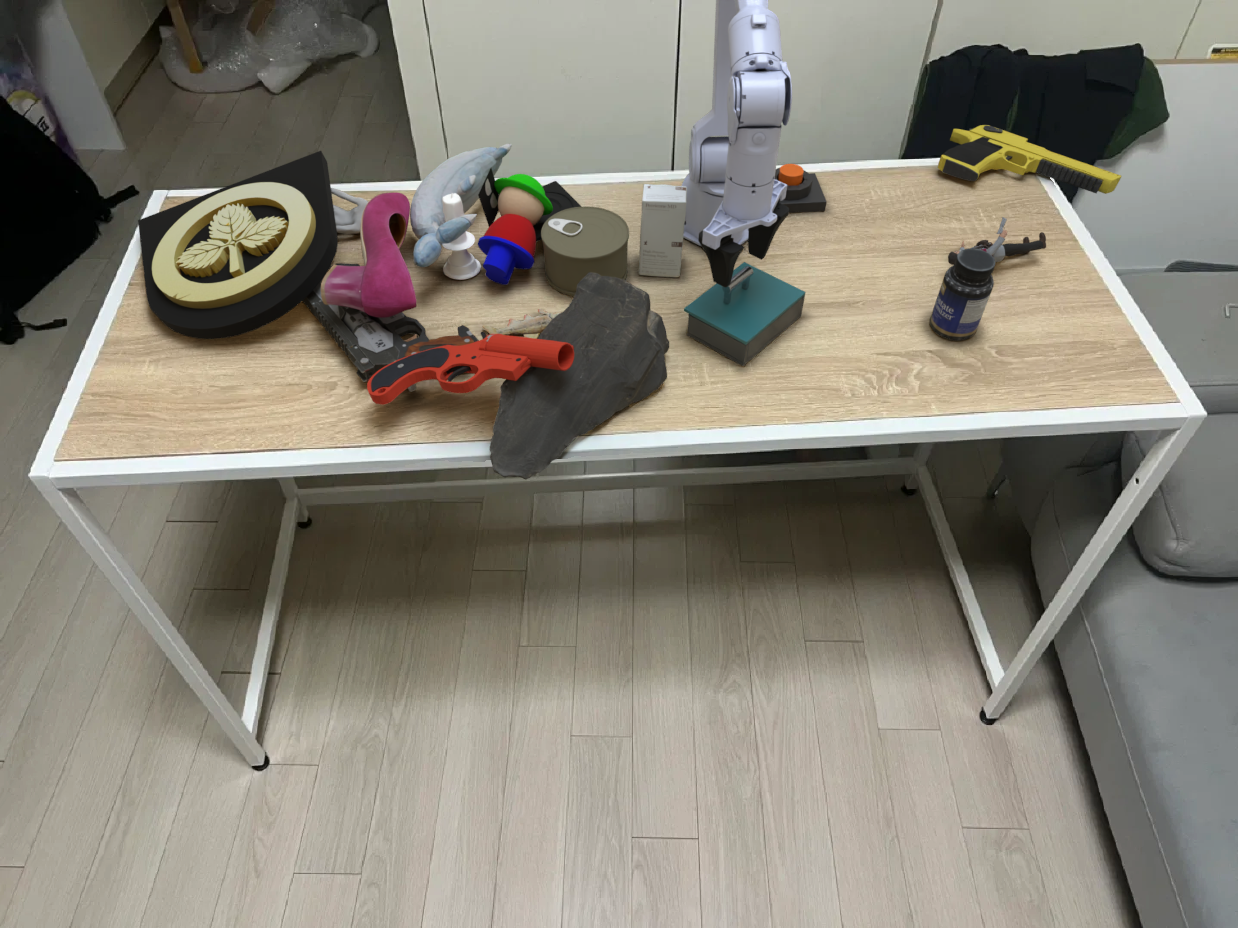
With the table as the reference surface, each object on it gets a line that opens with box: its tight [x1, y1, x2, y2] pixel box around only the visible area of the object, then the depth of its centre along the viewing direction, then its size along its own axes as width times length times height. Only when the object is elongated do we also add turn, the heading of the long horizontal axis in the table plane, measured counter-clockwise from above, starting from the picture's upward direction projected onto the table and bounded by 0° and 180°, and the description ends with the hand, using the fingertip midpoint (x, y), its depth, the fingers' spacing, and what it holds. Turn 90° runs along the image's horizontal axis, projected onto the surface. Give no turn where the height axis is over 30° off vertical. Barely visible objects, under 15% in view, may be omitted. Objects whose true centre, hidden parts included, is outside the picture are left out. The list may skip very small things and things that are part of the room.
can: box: [541, 206, 630, 298], centre depth 130 cm, size 12×12×7 cm
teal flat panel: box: [683, 261, 807, 345], centre depth 120 cm, size 10×13×4 cm
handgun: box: [937, 124, 1122, 195], centre depth 147 cm, size 4×26×15 cm
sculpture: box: [409, 143, 513, 268], centre depth 130 cm, size 18×8×25 cm
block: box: [775, 167, 828, 214], centre depth 143 cm, size 10×8×4 cm
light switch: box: [533, 180, 583, 243], centre depth 137 cm, size 10×4×10 cm
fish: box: [481, 308, 563, 339], centre depth 123 cm, size 12×2×5 cm
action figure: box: [947, 216, 1047, 266], centre depth 131 cm, size 9×7×15 cm
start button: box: [778, 163, 805, 186], centre depth 141 cm, size 4×4×2 cm
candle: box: [442, 193, 482, 281], centre depth 128 cm, size 5×5×12 cm
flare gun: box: [366, 331, 574, 406], centre depth 108 cm, size 3×23×15 cm
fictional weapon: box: [301, 262, 480, 392], centre depth 123 cm, size 28×4×15 cm
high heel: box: [321, 191, 417, 318], centre depth 124 cm, size 26×9×12 cm
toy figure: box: [477, 168, 553, 286], centre depth 129 cm, size 9×10×15 cm
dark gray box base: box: [686, 294, 806, 367], centre depth 123 cm, size 9×13×4 cm
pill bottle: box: [929, 247, 996, 342], centre depth 120 cm, size 6×6×11 cm
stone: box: [489, 272, 670, 480], centre depth 112 cm, size 16×12×30 cm
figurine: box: [331, 187, 369, 235], centre depth 137 cm, size 10×6×20 cm
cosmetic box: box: [638, 183, 687, 278], centre depth 128 cm, size 6×4×12 cm
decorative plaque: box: [137, 150, 339, 340], centre depth 128 cm, size 28×4×30 cm
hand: (739, 269), depth 119 cm, fingers open, 7 cm apart
